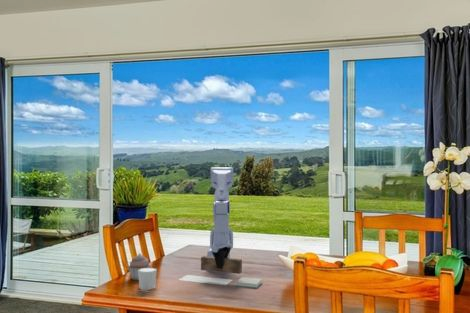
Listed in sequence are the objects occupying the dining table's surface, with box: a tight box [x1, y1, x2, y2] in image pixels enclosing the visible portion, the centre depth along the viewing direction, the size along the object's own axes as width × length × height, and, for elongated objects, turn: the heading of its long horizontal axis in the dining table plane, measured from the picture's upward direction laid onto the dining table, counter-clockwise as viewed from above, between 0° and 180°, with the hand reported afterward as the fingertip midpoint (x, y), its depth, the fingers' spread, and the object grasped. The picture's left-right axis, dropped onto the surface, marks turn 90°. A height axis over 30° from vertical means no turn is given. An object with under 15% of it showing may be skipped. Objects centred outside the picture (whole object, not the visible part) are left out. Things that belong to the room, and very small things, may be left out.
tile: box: [235, 276, 263, 289], centre depth 178 cm, size 2×7×8 cm
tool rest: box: [178, 274, 233, 286], centre depth 184 cm, size 20×8×1 cm, turn 70°
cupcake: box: [127, 253, 152, 281], centre depth 187 cm, size 9×9×10 cm
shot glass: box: [138, 267, 158, 292], centre depth 173 cm, size 7×7×7 cm
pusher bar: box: [200, 255, 243, 275], centre depth 182 cm, size 16×2×5 cm, turn 70°
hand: (221, 267), depth 182 cm, fingers closed on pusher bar, 2 cm apart
